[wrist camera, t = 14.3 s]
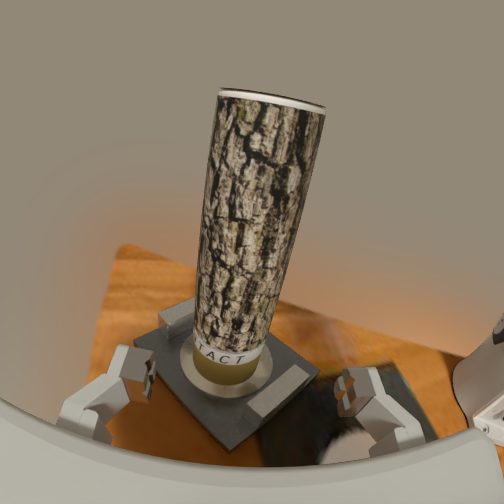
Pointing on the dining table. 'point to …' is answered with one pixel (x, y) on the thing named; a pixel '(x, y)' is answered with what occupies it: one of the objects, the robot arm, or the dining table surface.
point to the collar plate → (219, 396)
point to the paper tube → (249, 224)
